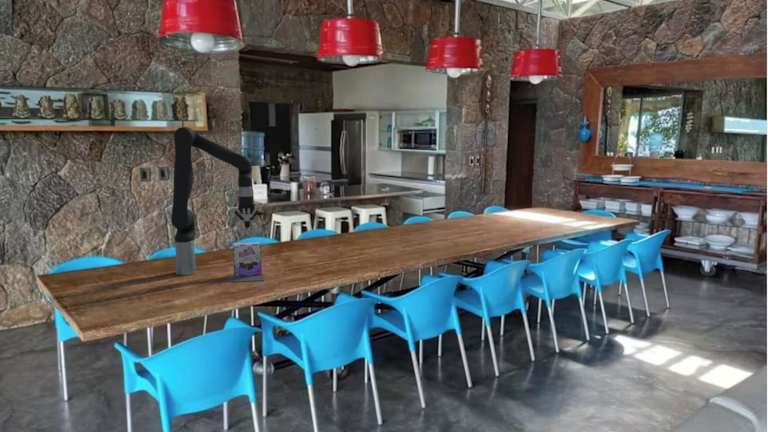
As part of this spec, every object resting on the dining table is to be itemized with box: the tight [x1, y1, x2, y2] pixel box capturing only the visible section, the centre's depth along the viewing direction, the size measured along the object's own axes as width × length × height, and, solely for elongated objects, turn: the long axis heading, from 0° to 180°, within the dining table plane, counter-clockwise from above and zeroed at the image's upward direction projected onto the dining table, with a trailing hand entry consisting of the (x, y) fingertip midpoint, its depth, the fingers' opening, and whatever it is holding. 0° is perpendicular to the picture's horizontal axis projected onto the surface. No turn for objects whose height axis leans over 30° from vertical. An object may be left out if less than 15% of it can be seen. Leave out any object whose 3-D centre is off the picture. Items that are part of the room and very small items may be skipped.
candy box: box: [232, 241, 263, 277], centre depth 275 cm, size 14×6×16 cm, turn 105°
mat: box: [226, 275, 266, 283], centre depth 268 cm, size 18×8×1 cm, turn 99°
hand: (247, 228), depth 281 cm, fingers closed
